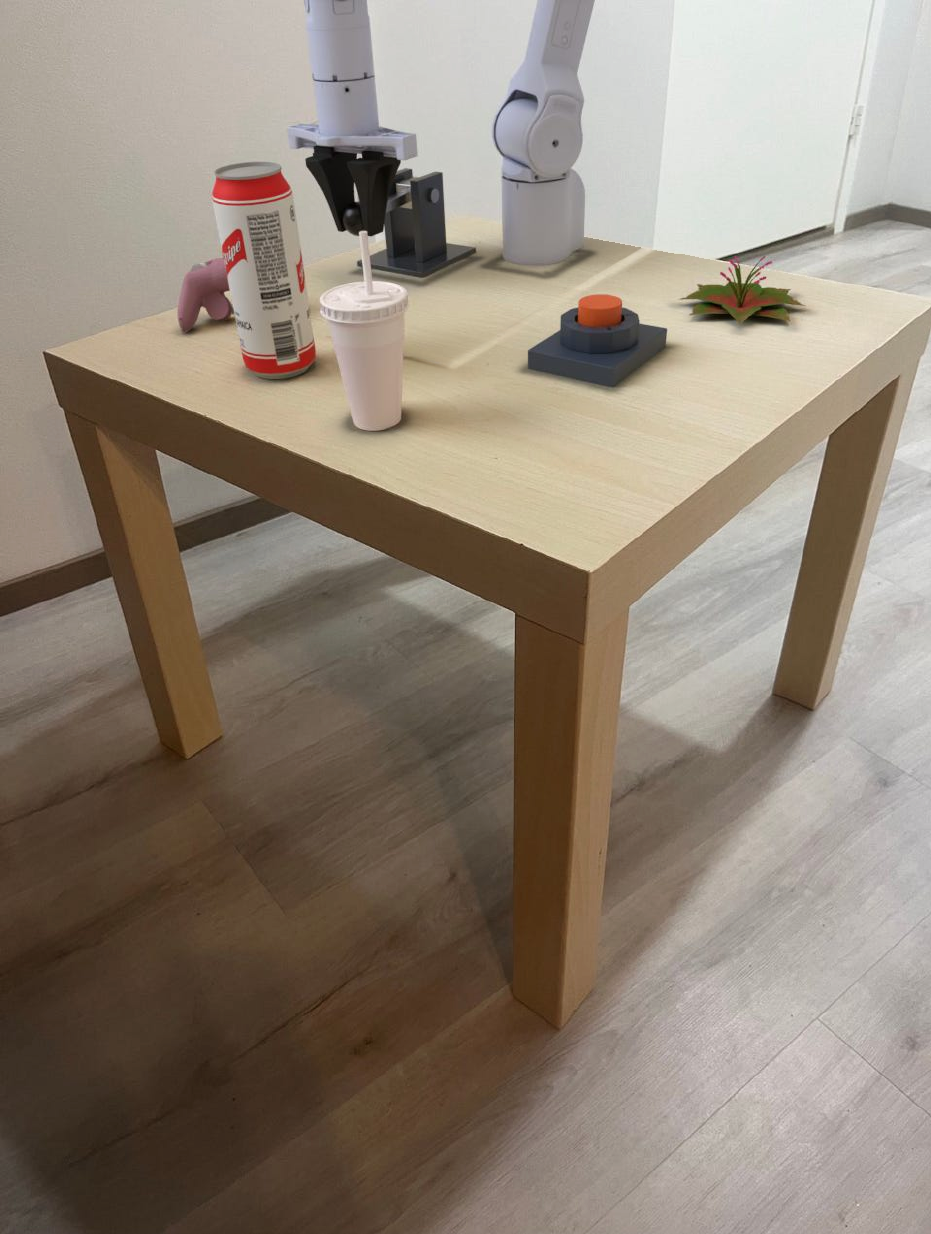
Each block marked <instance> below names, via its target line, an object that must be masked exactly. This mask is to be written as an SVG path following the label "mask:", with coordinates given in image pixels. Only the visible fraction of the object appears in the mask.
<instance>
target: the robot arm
mask: <svg viewBox="0 0 931 1234" xmlns="http://www.w3.org/2000/svg"><path fill="white" fill-rule="evenodd" d="M595 2H596V0H537V1H536V4H535V8H534V9H535V10H534V14H533V19H532V23H531V28H530V33H529V37H528V42H527V46H526V51H525V56H524V60H523V62H522V63H521V64H520V66H518V68H517V70H516V71H515V73H514V74H513V76H512V77H511V78H510V80H509V84H508V89H507V92H506V96H505V97H504V99H503V101H502V103H501V104H500V106H499V107H498V109H497V110H496V112H495V114H494V116H493V119H492V124H491V138H492V142H493V146H494V148H495V149H496V151H497V153H498V154H499V155H500V156H501V157H502V166H501V173H500V174H501V227H502V228H501V230H502V231H501V232H502V258H503V260H505V261H506V262H507V263H511V264H514V265H519V266H530V267H531V266H547V265H553V264H557V263H560V262H563V261H565V260H566V259H568V258H569V256H570V255H571V254H572V253H574V252H576V251H577V250H579V249H582V248H583V247H584V246H585V245H584V243H585V216H586V215H585V214H586V213H585V212H586V189H585V185H584V183H583V180H582V177H581V176H580V175H579V173H578V172H577V171H576V170H575V169H573V168H572V167H573V166H574V165H575V164H576V162H577V161H578V159H579V156H580V154H581V152H582V147H583V141H584V140H583V138H584V137H583V136H584V135H583V129H582V128H583V127H582V113H583V108H584V105H585V97H584V93H583V90H582V87H581V86H582V85H581V84H580V80H579V76H578V72H579V67H580V63H581V58H582V55H583V51H584V48H585V47H584V46H585V42H586V38H587V34H588V30H589V26H590V22H591V18H592V14H593V10H594V5H595ZM303 4H304V5H303V6H304V9H305V29H306V37H307V45H308V53H309V54H308V55H309V61H310V70H311V76H312V84H313V92H314V98H315V99H314V100H315V107H316V115H317V116H316V117H317V123H314V124H313V123H298V124H293V125H290V126H287V127H286V130H287V136H288V144H289V149H293V150H299V149H303V148H304V149H311V150H313V152H312V156H308V157H306V158H305V159H304V160H305V167H306V168H307V169H308V171H309V172H310V174H311V175H312V176H313V178H314V179H315V181H316V183H317V185H318V186H319V188H320V190H321V192H322V194H323V196H324V198H325V200H326V202H327V205H328V208H329V210H330V213H331V215H332V218H333V221H334V225H335V227H336V230H337V232H341V233H344V232H346V231H347V230H346V228H345V226H344V224H343V212H344V210H345V208H346V207H347V206H348V205H349V204H351V203H353V202H356V197H355V189H356V193H357V197H358V202H360V208H361V215H362V222H363V228H364V231H367V236H368V237H374V236H376V235H379V234H381V233H384V231H385V228H384V221H385V214H386V208H387V202H388V197H389V193H390V189H391V186H392V183H393V180H394V177H395V175H396V172H397V171H399V168H400V165H401V164H402V161H407V160H411V159H414V158H416V157H418V156H419V155H418V140H417V133H413V132H406V131H400V130H396V129H393V128H389V127H384V126H380V120H379V119H380V118H379V109H378V107H379V106H378V98H377V85H376V75H375V63H374V51H373V42H372V40H373V39H372V32H371V21H370V20H371V19H370V16H369V9H368V0H303ZM358 154H360V155H361V157H358Z"/></svg>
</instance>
